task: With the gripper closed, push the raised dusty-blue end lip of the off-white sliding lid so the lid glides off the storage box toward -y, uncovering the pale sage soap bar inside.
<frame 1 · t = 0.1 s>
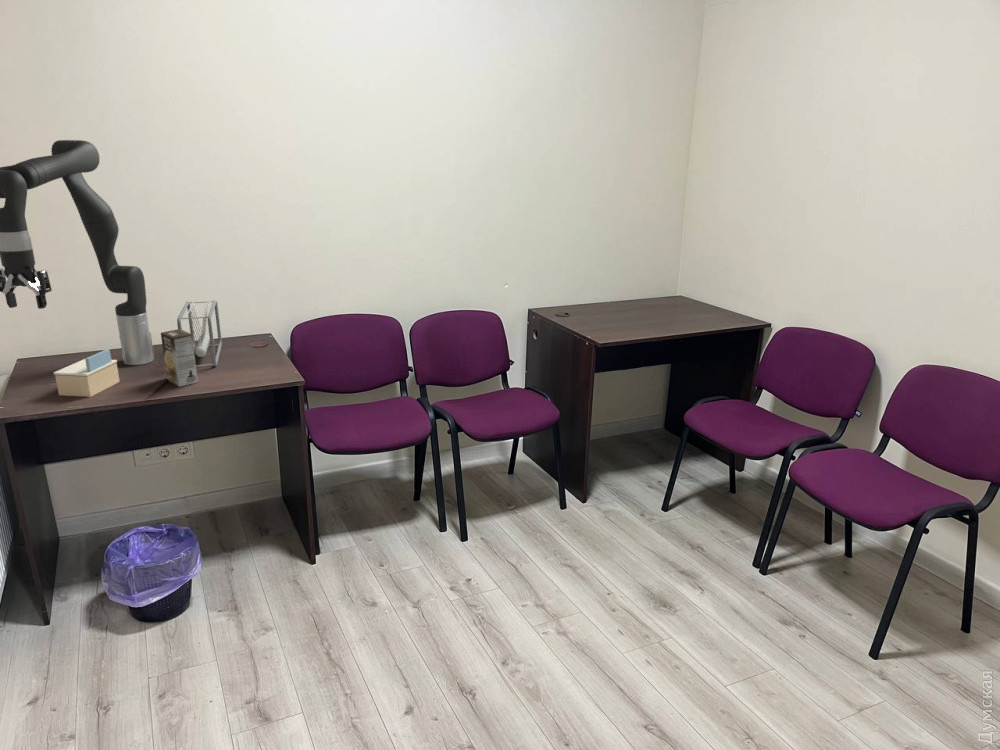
hand: (27, 307, 192), 29 cm above the table, fingers open, 8 cm apart
coffee box: (182, 382, 224), on the table
soap bar: (90, 388, 215), point 1 cm above the table, touching storage box
storage box: (90, 390, 215), on the table
newton's cradle: (204, 357, 251), on the table
lid: (85, 360, 212), point 10 cm above the table, slide at 0.0 cm
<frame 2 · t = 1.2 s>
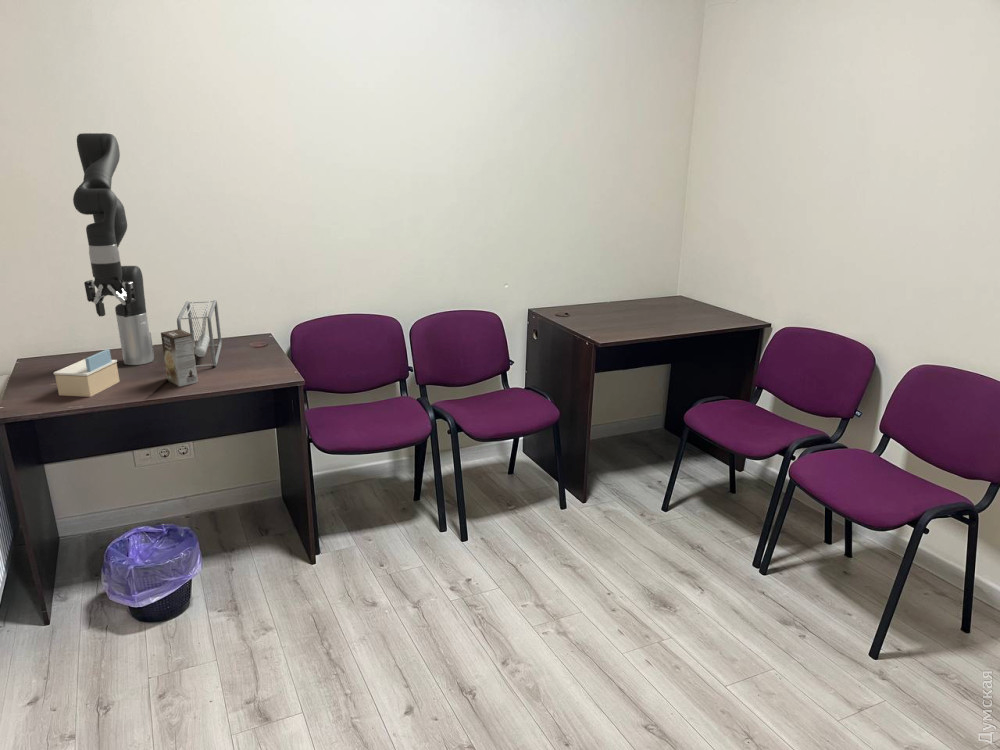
hand: (114, 316, 207), 24 cm above the table, fingers open, 7 cm apart
nothing on the table moved.
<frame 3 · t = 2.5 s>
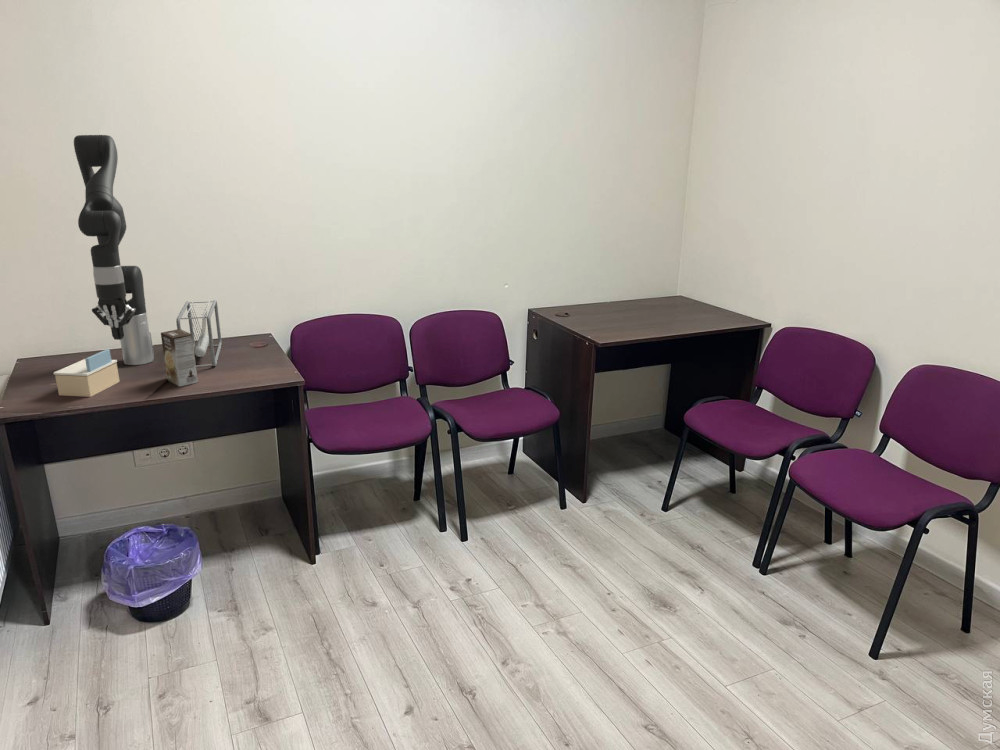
hand: (118, 339, 209), 17 cm above the table, fingers closed
nothing on the table moved.
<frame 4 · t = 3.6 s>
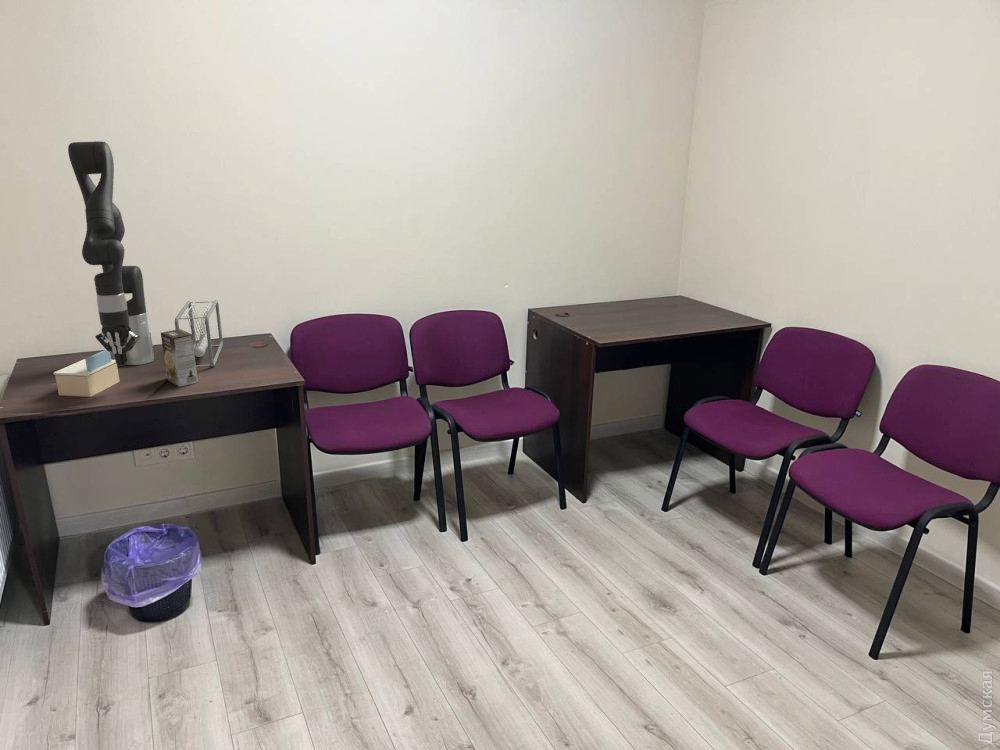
hand: (122, 364, 211), 9 cm above the table, fingers closed
nothing on the table moved.
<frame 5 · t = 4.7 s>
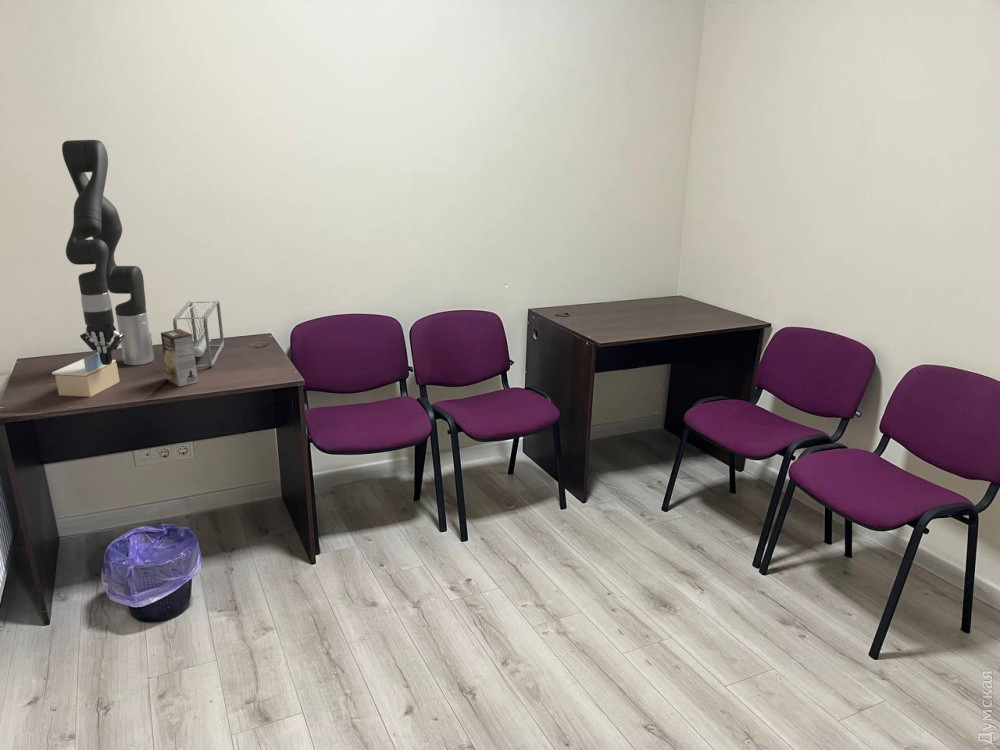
hand: (107, 364, 212), 9 cm above the table, fingers closed
lid: (83, 360, 212), point 10 cm above the table, slide at 0.5 cm, touching gripper
everything else where it was.
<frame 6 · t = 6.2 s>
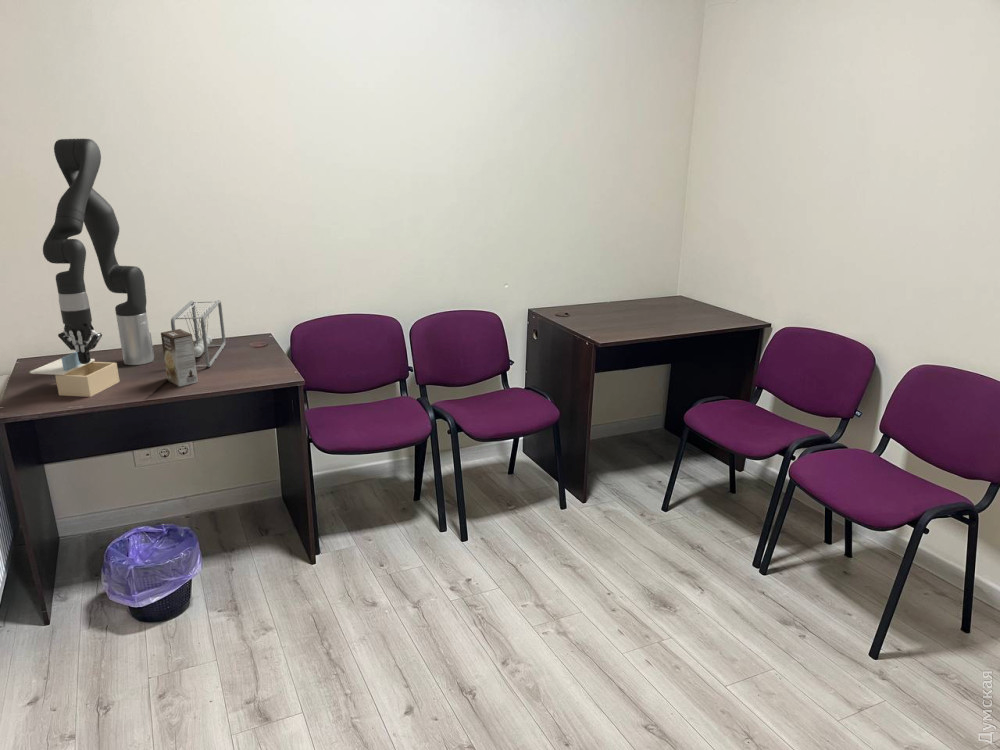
hand: (85, 363, 213), 9 cm above the table, fingers closed
lid: (62, 359, 213), point 10 cm above the table, slide at 7.5 cm, touching gripper
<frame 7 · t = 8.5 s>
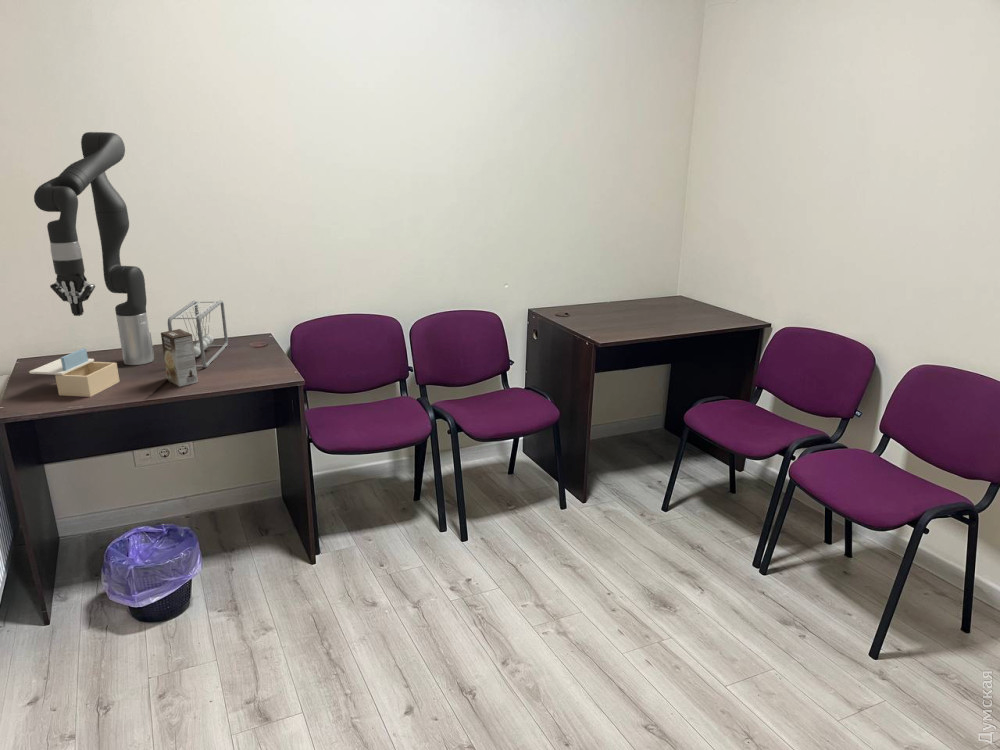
hand: (78, 315, 210), 23 cm above the table, fingers closed
lid: (61, 359, 213), point 10 cm above the table, slide at 7.7 cm
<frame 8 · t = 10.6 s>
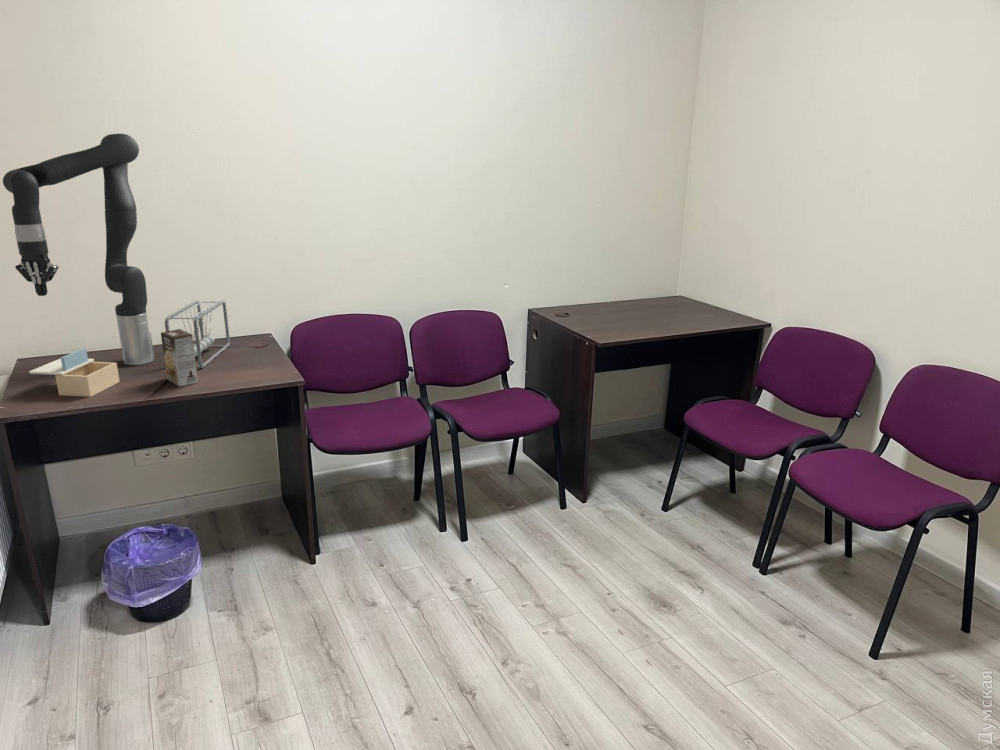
hand: (42, 295, 218), 27 cm above the table, fingers closed
at the end: lid slide at 7.7 cm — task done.
